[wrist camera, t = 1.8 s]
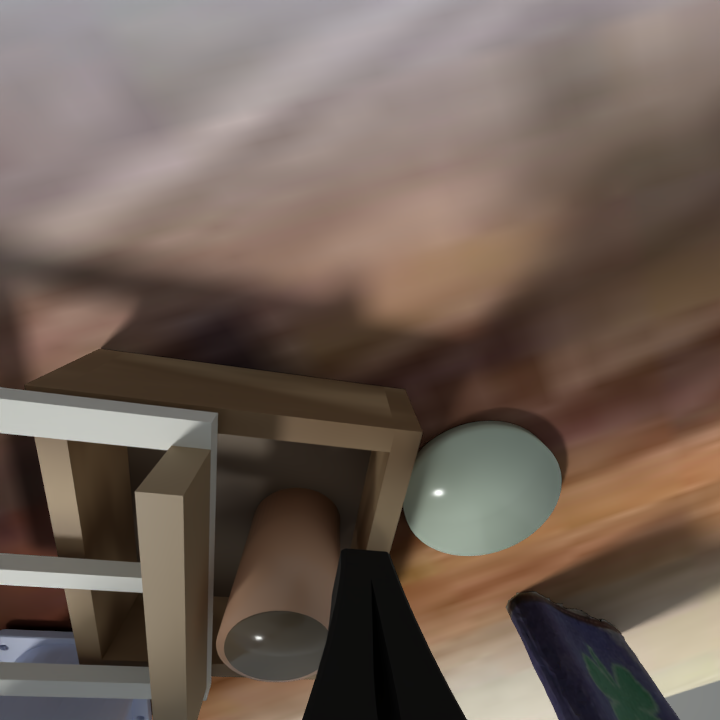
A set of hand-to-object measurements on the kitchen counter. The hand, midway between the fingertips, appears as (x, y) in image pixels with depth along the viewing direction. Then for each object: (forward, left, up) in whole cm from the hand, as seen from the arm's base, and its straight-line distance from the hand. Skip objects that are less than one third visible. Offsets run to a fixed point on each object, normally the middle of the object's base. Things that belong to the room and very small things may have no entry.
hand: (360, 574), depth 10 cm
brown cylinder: (-5, +2, -6) cm, 8 cm away
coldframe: (-5, +5, -7) cm, 9 cm away
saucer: (-2, -7, -7) cm, 10 cm away
